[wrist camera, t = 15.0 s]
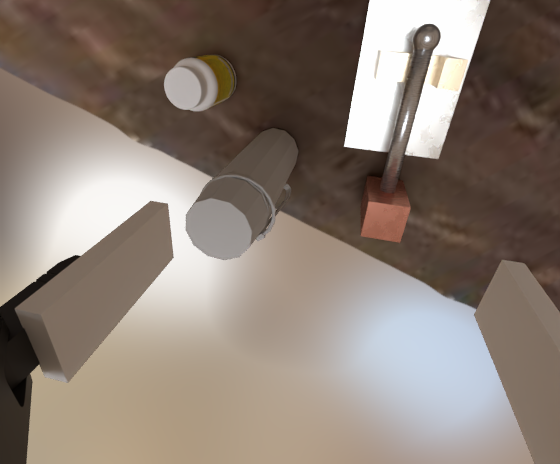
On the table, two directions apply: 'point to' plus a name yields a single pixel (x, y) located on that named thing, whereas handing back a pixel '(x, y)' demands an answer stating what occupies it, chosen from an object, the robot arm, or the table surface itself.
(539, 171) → the table surface
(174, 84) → the pill bottle
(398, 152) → the mallet
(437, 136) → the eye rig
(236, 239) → the water bottle
